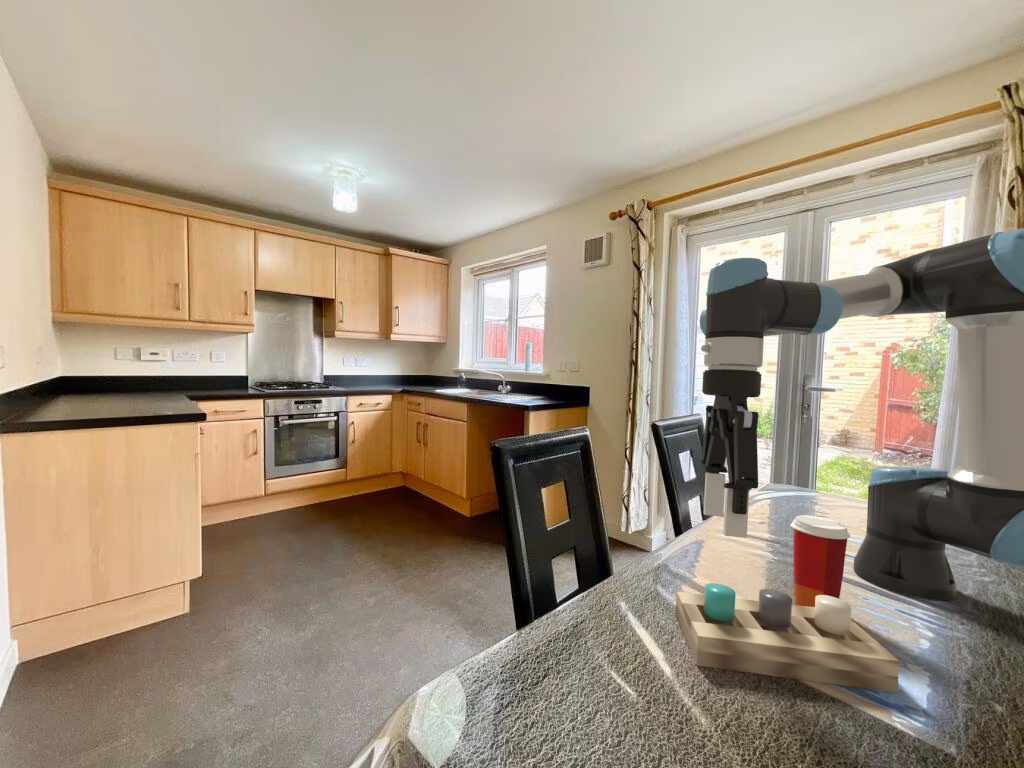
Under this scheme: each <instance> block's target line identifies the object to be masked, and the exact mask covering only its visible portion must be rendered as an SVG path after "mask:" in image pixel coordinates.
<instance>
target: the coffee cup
mask: <svg viewBox="0 0 1024 768" xmlns="http://www.w3.org/2000/svg"><path fill="white" fill-rule="evenodd" d="M790 527H791V528H793V531H792V534H793V537H792V538H793V585H794V586H793V593H794V594H793V595H794V605H799V606H808V607H815V597H816V596H817V595H827V596H832V597H835V598H838V599H840V598H841V590H842V583H843V577H844V569H845V562H846V561H845V559H846V553H847V552H846V551H847V545H848V539H850V538H851V535H850V533H849V532H848V527H846V526H845V525H844V524H842V523H841V522H840V521H836V520H833V519H831V518H825V517H821V516H815V515H808V514H807V515H806V514H805V515H803V514H801V515H797V516H795V517H794V519H792V522H791V524H790Z"/></svg>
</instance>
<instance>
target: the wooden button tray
mask: <svg viewBox="0 0 1024 768" xmlns="http://www.w3.org/2000/svg"><path fill="white" fill-rule="evenodd" d="M675 597H676V598H675V599H676V600H675V619H676V620H677V623H678V626H679V627H680V630H681V632H682V635H683V637H684V639H685V641H686V645H687V646H688V649H689V650H690V654H691V656H692V658H693V660H694V664H695V665H696V666H697V667H705V668H712V669H720V670H726V671H733V672H740V673H741V672H744V673H749V674H757V675H764V676H770V677H771V676H772V677H779V678H786V679H787V678H788V679H793V680H794V679H795V680H800V681H801V680H803V681H809V682H815V683H816V682H817V683H823V684H831V685H832V684H833V685H838V686H846V687H852V688H860V689H868V690H875V691H883V692H889V693H896V694H897V693H898V691H899V690H898V689H899V688H898V687H899V673H900V672H899V671H900V660H899V659H897V658H896V656H894V655H893V654H892V653H890V651H888V650H887V649H886V648H885V647H883V646H882V644H880V643H879V642H878V641H877V640H875V638H873V637H872V636H871V635H870V634H868V633H867V632H866V631H865V630H864V629H862V628H861V627H860V626H859V625H858V624H857V623H856V622H854V620H852V619H851V618H850V633H849V634H848V635H836V634H832V633H829V632H827V631H825V630H823V629H821V628H819V627H818V626H817V625H816V624H815V623H814V614H815V607H808V606H799V605H796V604H792V612H791V626H790V627H789V628H778V627H774V626H771V625H768V624H766V623H764V622H763V621H762V620H760V619H759V617H758V608H759V600H753V599H745V598H736V597H735V614H734V620H732V621H720V620H716V619H714V618H712V617H710V616H708V615H707V614H706V613H705V612H704V597H705V594H700V593H691V592H683V591H682V592H681V591H676V596H675Z"/></svg>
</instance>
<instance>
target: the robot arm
mask: <svg viewBox="0 0 1024 768" xmlns="http://www.w3.org/2000/svg"><path fill="white" fill-rule="evenodd" d="M705 296H706V304H705V305H706V306H705V307H703V309H702V311H701V313H700V315H699V327H700V330H701V332H702V334H703V335H704V336H705V337H704V338H705V341H704V344H702V345H701V346H700V351H701V352H704V356H703V357H704V358H703V365H704V366H705V367H707V369H704V371H703V372H702V385H701V390H702V391H701V392H702V394H703V395H706V396H714V402H713V405H706V407H705V425H704V436H703V444H702V450H701V451H702V453H701V459H700V463H701V465H702V466H703V467H704V471H705V477H704V480H705V481H704V496H703V499H704V500H703V512H702V513H703V515H704V516H711V517H724V518H723V532H722V533H723V534H722V535H724V536H725V537H733V538H743V539H744V538H745V539H747V537H748V536H747V535H748V524H749V523H748V522H749V521H748V519H749V505H750V503H749V499H750V491H751V490H752V489H755V490H756V489H758V487H759V465H758V463H759V461H758V460H759V458H758V457H759V455H758V424H759V418H760V417H759V412H758V411H750V410H749V408H748V407H749V406H748V398H758V397H760V395H761V389H762V388H761V387H762V374H761V372H760V371H758V368H761V367H762V366H763V363H764V362H763V359H764V346H765V345H764V340H765V339H764V337H770V336H771V337H772V336H779V335H787V334H788V335H789V334H794V335H795V334H798V335H801V336H806V335H807V336H808V335H821V334H825V333H826V332H829V331H830V330H831V329H833V328H834V327H835V326H836V324H838V322H839V321H840V320H843V319H847V318H852V317H853V318H854V317H857V316H863V315H864V316H866V317H870V318H879V317H886V316H893V315H908V314H909V315H910V314H911V315H912V314H913V315H915V314H933V313H944V312H945V313H944V314H945V315H944V316H945V322H947V323H948V324H949V325H951V326H953V327H955V329H957V339H958V340H957V355H958V356H957V357H958V358H957V359H958V361H957V362H958V364H957V365H958V366H957V367H958V369H957V371H958V374H957V375H958V380H957V381H958V448H959V449H958V456H959V457H958V460H959V461H958V463H959V465H958V466H957V467H955V468H954V469H953V470H951V471H948V470H946V469H941V468H929V467H917V466H916V467H914V466H913V467H912V466H890V465H888V466H876V467H874V468H873V469H872V470H871V471H870V476H869V482H868V483H869V484H867V488H868V490H867V515H866V533H865V536H864V539H863V540H862V543H861V544H860V547H859V549H858V551H857V553H856V555H855V556H854V559H853V568H852V569H853V571H854V573H855V574H856V575H858V576H859V577H860V578H862V579H864V580H865V581H866V582H869V583H871V584H874V585H876V586H878V587H880V588H884V589H886V590H889V591H892V592H896V593H899V594H903V595H906V596H911V597H915V598H920V599H925V600H931V601H949V600H950V601H951V600H954V599H955V598H957V597H956V596H957V583H956V580H955V577H954V574H953V572H952V571H953V570H952V569H951V566H950V563H949V560H948V557H947V555H946V545H948V546H951V547H955V548H957V549H961V550H963V551H967V552H970V553H973V554H976V555H978V556H981V557H984V558H988V559H990V560H992V561H994V562H996V563H1000V564H1008V565H1011V566H1015V567H1018V568H1021V569H1024V227H1021V228H1016V229H1011V230H1004V231H997V232H995V233H993V234H989V235H984V236H980V237H977V238H973V239H970V240H966V241H961V242H957V243H954V244H951V245H946V246H943V247H939V248H933V249H928V250H925V251H922V252H919V253H917V254H912V255H910V256H908V257H904V258H901V259H899V260H896V261H892V262H889V263H886V264H885V263H884V264H883V265H878V266H874V267H868V268H866V269H864V270H862V271H861V272H860V273H859V274H857V275H852V276H846V277H841V278H834V279H828V280H824V281H817V282H814V281H811V282H803V281H796V280H795V281H794V280H786V279H785V280H783V279H776V278H775V279H774V278H769V272H768V264H767V263H766V261H764V260H762V259H760V258H756V257H738V258H737V257H736V258H730V259H726V260H722V261H720V262H717V263H716V264H714V265H713V266H712V267H711V268H710V270H709V275H708V279H707V289H706V293H705ZM725 464H726V465H727V467H726V466H725ZM726 474H727V475H728V476H727V477H728V482H726Z"/></svg>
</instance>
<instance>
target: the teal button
mask: <svg viewBox="0 0 1024 768" xmlns="http://www.w3.org/2000/svg"><path fill="white" fill-rule="evenodd" d="M704 595H705V597H704V612H705V613H706V614H707V615H708V616H710V617H712V618H714V619H716V620H720V621H732V620H734V614H735V598H736V592H735V590H734V589H733V588H732V587H729V586H728V585H725V584H722V583H718V582H717V583H716V582H710V583H709V582H708V583H706V584H705V585H704Z"/></svg>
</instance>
